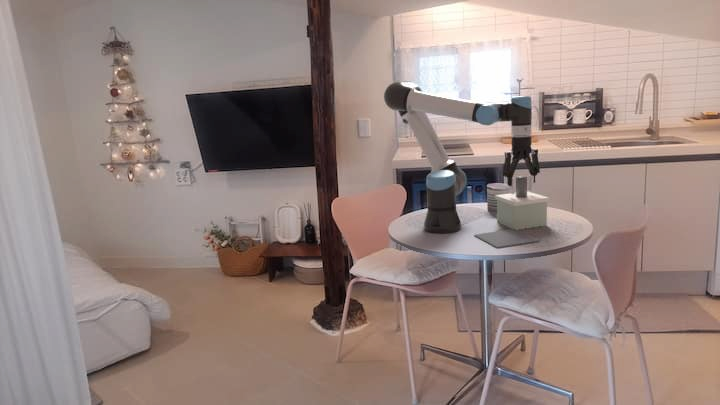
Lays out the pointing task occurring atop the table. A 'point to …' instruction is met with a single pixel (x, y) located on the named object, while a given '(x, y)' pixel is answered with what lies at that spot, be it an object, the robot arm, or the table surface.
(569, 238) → the table surface
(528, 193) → the lid
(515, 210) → the box
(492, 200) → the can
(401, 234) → the table surface
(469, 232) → the table surface
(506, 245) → the mat
